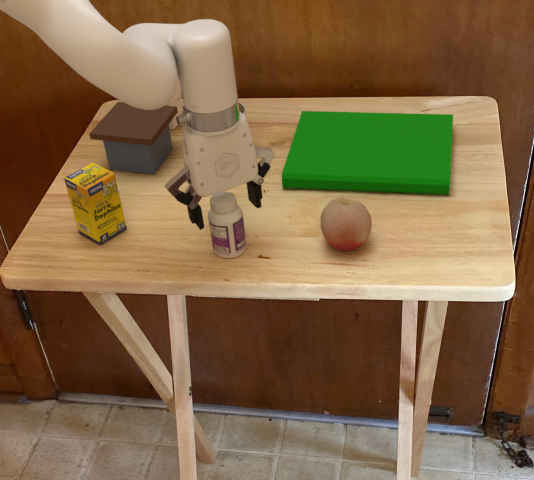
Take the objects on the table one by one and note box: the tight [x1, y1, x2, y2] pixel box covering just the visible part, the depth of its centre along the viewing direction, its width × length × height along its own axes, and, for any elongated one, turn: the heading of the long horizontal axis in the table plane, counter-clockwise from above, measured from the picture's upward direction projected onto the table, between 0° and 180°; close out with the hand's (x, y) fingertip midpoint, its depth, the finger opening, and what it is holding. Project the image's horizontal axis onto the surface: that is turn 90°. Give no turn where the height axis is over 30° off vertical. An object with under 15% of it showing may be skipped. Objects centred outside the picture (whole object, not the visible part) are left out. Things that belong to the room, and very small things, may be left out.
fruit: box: [319, 197, 373, 252], centre depth 125 cm, size 8×8×8 cm
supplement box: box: [63, 161, 128, 246], centre depth 132 cm, size 6×6×11 cm
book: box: [281, 110, 454, 196], centre depth 145 cm, size 22×28×3 cm
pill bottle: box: [207, 191, 247, 259], centre depth 126 cm, size 5×5×10 cm
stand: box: [88, 101, 178, 175], centre depth 149 cm, size 12×12×8 cm
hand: (227, 214), depth 125 cm, fingers open, 9 cm apart
